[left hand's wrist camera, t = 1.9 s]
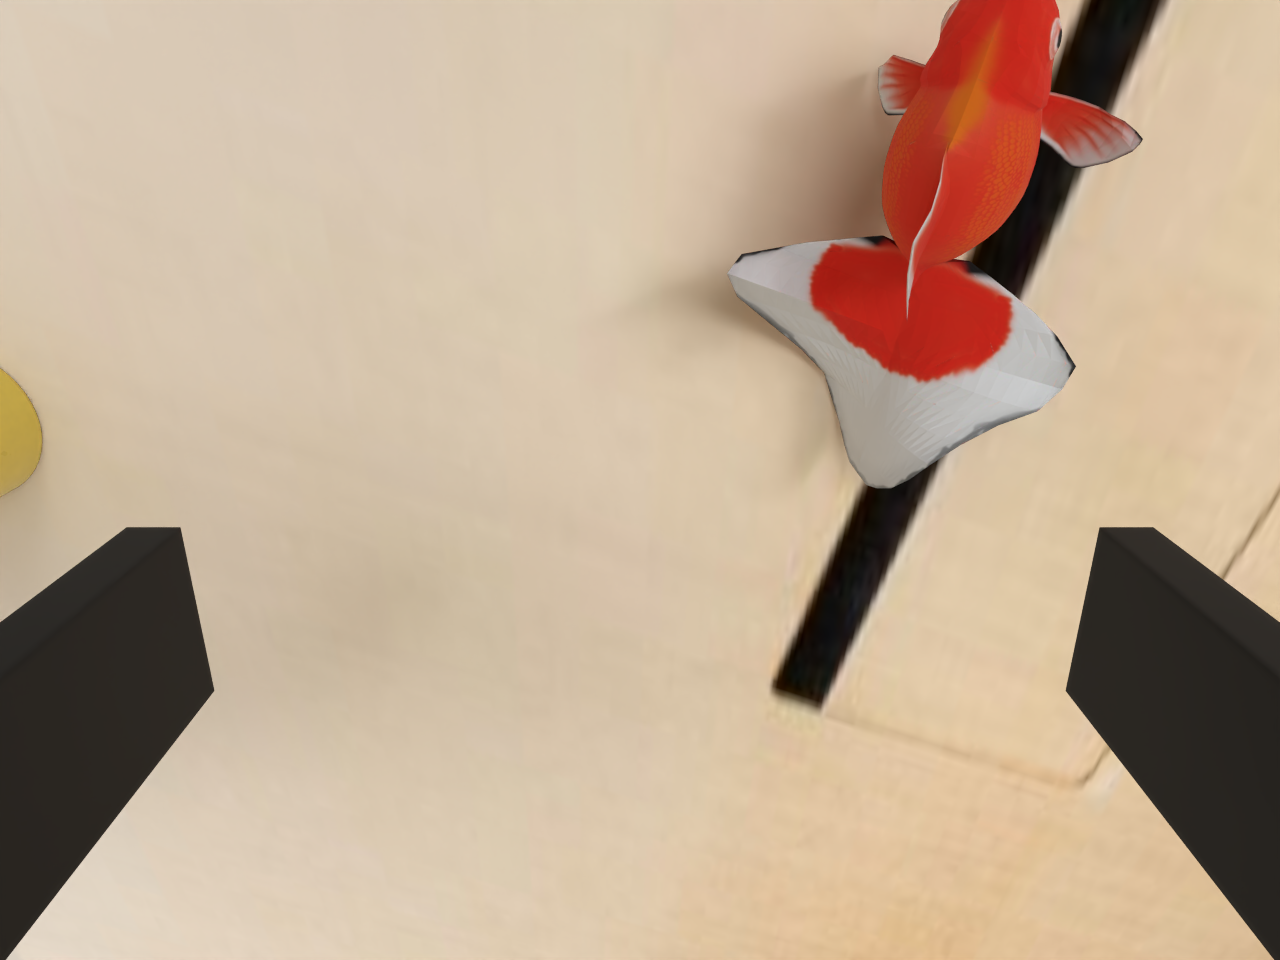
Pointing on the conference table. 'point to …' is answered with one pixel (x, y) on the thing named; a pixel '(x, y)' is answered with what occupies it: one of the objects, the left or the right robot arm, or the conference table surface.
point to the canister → (17, 435)
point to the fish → (939, 248)
